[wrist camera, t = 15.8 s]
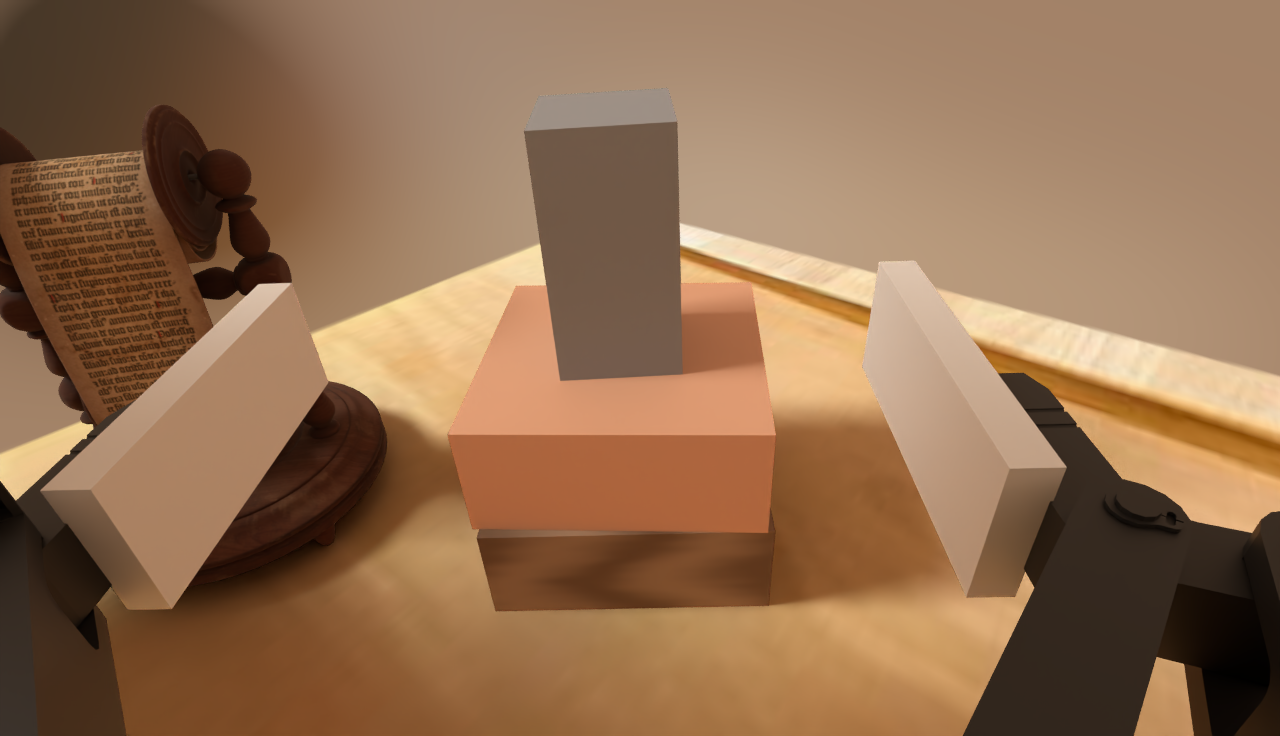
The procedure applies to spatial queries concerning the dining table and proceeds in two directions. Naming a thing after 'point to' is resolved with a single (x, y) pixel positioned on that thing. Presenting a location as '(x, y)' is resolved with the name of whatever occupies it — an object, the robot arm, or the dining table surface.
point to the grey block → (609, 230)
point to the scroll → (167, 311)
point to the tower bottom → (626, 568)
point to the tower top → (621, 429)
